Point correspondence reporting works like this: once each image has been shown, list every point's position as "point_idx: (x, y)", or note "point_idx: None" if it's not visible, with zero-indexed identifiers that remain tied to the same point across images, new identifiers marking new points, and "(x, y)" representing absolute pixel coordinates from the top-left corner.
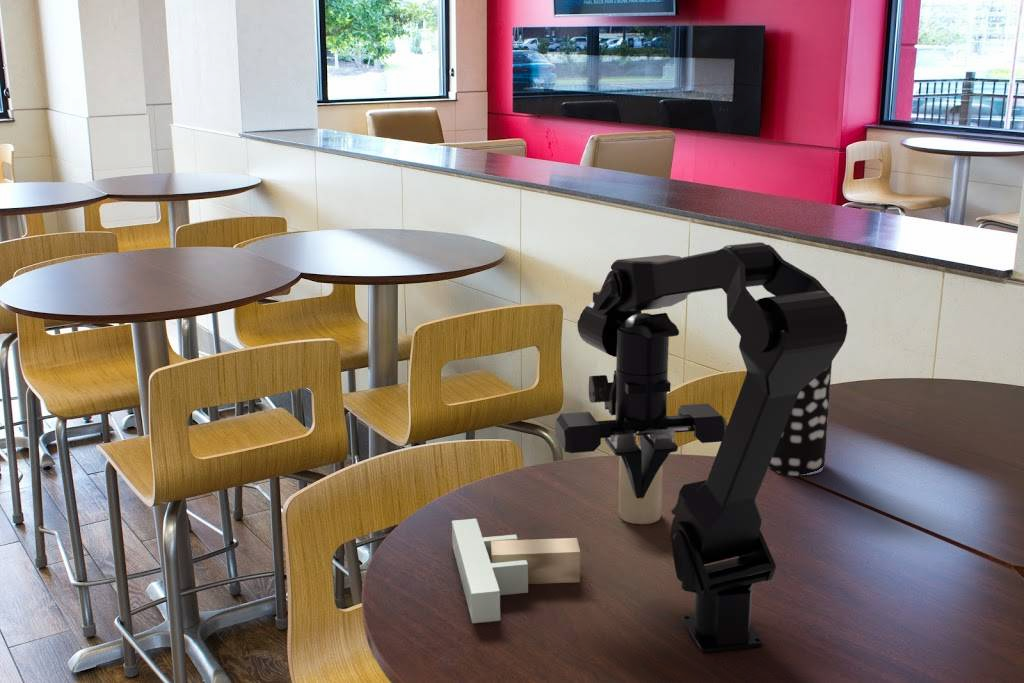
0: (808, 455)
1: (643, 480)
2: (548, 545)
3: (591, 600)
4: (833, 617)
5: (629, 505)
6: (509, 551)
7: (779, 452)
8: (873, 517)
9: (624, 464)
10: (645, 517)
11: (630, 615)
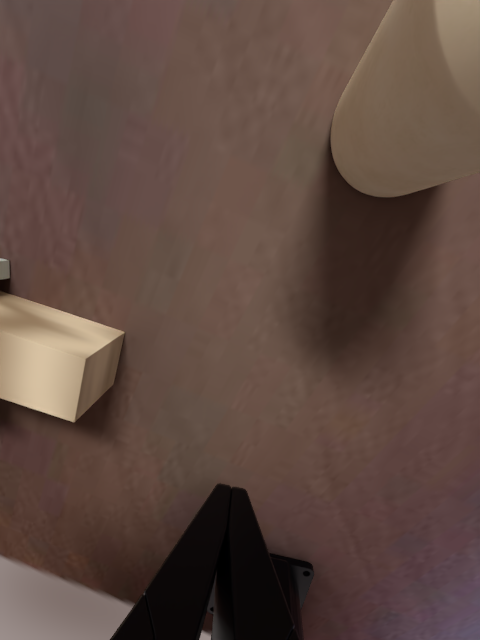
0: None
1: (213, 637)
2: (8, 366)
3: (113, 443)
4: (438, 614)
5: (350, 156)
6: None
7: None
8: None
9: (121, 626)
10: (378, 194)
11: (156, 500)
